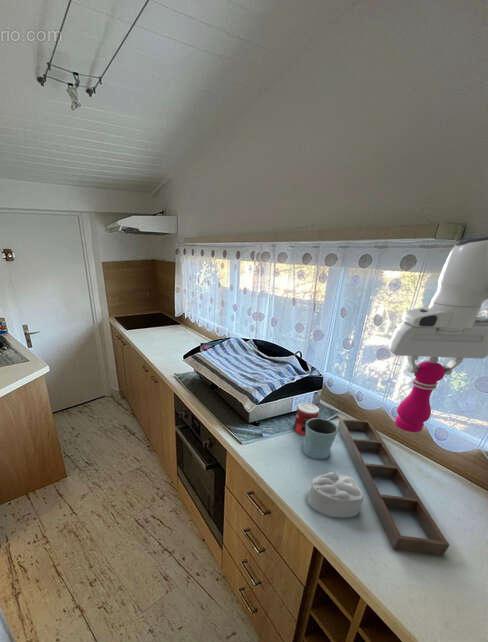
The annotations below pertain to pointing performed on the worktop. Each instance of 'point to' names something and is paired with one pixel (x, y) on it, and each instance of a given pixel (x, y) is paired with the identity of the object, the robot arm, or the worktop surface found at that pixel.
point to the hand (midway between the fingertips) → (428, 372)
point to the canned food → (304, 416)
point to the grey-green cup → (319, 437)
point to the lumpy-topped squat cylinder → (335, 495)
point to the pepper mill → (419, 396)
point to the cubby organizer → (382, 503)
